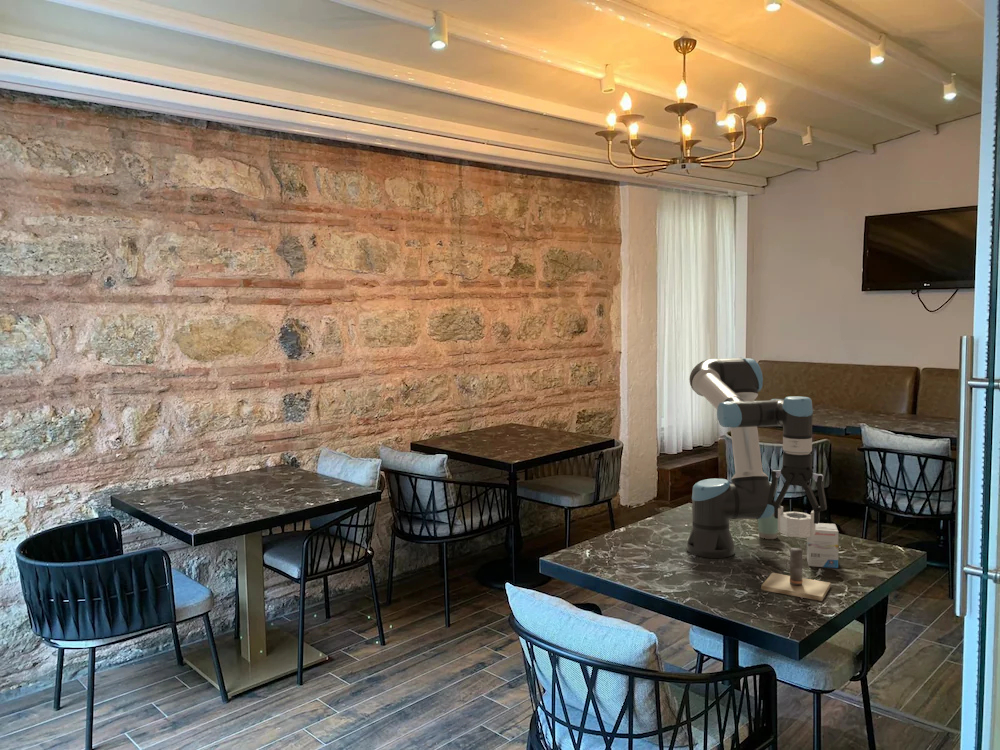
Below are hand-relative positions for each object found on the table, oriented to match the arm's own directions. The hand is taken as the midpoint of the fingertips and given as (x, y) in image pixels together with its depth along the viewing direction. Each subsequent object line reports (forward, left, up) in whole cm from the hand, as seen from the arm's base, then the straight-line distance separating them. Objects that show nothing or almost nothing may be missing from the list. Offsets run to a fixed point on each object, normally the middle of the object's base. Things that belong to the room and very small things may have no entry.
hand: (796, 532), depth 207 cm
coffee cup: (-19, +45, -16) cm, 52 cm away
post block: (0, 0, -16) cm, 16 cm away
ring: (0, 0, 0) cm, 0 cm away
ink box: (+2, +26, -17) cm, 31 cm away
